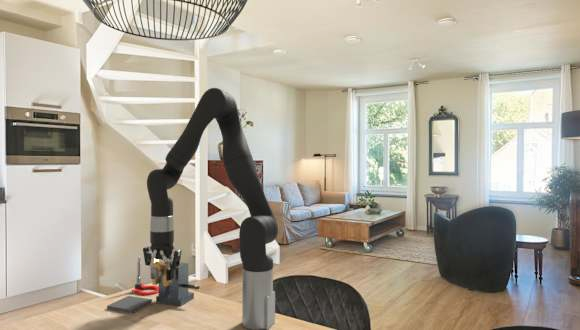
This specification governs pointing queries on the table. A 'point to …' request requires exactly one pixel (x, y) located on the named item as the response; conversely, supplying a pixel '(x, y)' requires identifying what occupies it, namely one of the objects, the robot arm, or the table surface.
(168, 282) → the ochre slotted block
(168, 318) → the table surface
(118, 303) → the rubber mat
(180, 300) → the vise
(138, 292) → the tow hook
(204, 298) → the table surface
